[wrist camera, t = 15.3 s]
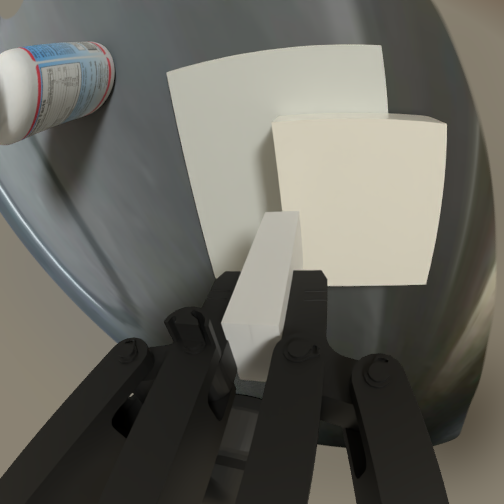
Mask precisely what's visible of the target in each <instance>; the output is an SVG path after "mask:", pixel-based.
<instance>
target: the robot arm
mask: <svg viewBox="0 0 504 504" xmlns="http://www.w3.org/2000/svg"><path fill="white" fill-rule="evenodd" d="M327 281H328V279H327V278H326V276H325V275H324V273H323V272H322V270H303V252H302V238H301V226H300V214H299V211H281V212H265V214H264V216H263V219H262V221H261V224H260V226H259V229H258V231H257V234H256V236H255V239H254V241H253V244H252V246H251V249H250V251H249V254H248V256H247V259H246V261H245V264H244V266H243V269H242V271H225V272H224V273H223V274H222V275H220V276H219V277H218V278H217V279H216V280H215V282H214V284H213V286H212V288H211V291H210V292H209V294H208V297H207V300H206V301H205V303H204V305H203V307H202V309H201V308H197V307H185V308H182V309H179V310H177V311H175V312H174V313H172V314H171V315H169V316H168V317H167V319H166V320H165V321H164V323H165V325H166V327H167V329H168V331H169V333H170V335H171V337H172V339H173V341H174V342H173V344H170V345H165V346H158V347H150V348H148V346H147V344H146V343H145V342H144V341H143V340H142V339H139V338H127V339H125V340H123V341H121V342H119V343H118V344H117V345H116V346H115V347H113V349H112V350H111V351H110V352H109V353H108V354H107V355H106V356H105V357H104V358H103V359H102V361H101V362H100V363H99V364H98V365H97V366H96V367H95V368H94V369H93V370H92V371H91V373H90V374H89V375H88V376H87V377H86V378H85V379H84V381H82V383H81V384H80V385H79V386H78V387H77V388H76V389H75V390H74V391H73V393H72V394H71V395H70V396H69V397H68V398H67V399H66V401H65V402H64V403H63V404H62V405H61V406H60V408H59V409H58V410H57V411H56V412H55V413H54V414H53V416H52V417H51V418H50V419H49V420H48V421H47V422H46V424H45V425H44V426H43V427H42V428H41V429H40V431H39V432H38V433H37V434H36V436H35V437H34V438H33V439H32V440H31V441H30V443H29V444H28V445H27V446H26V447H25V449H24V450H23V451H22V452H21V454H20V455H19V456H18V457H17V458H16V460H15V461H14V462H13V463H12V465H11V466H10V467H9V468H8V470H7V471H6V472H5V474H4V475H3V476H2V477H1V479H0V504H308V499H309V494H310V488H311V482H312V476H313V470H314V463H315V456H316V448H317V441H318V433H319V424H320V420H323V421H326V422H329V423H332V424H335V425H338V426H341V427H342V430H343V434H344V439H345V444H346V449H347V454H348V459H349V464H350V469H351V475H352V480H353V486H354V491H355V497H356V503H357V504H449V502H448V498H447V494H446V490H445V487H444V482H443V479H442V475H441V472H440V469H439V465H438V462H437V459H436V456H435V452H434V449H433V446H432V443H431V440H430V437H429V434H428V431H427V428H426V425H425V423H424V420H423V417H422V414H421V412H420V409H419V406H418V404H417V401H416V398H415V396H414V393H413V391H412V388H411V386H410V383H409V381H408V378H407V376H406V374H405V371H404V369H403V367H402V366H401V364H400V363H399V361H398V360H396V359H395V358H393V357H391V356H389V355H385V354H381V353H378V354H370V355H367V356H365V357H362V358H361V359H360V360H359V361H358V360H355V359H351V358H348V357H345V356H342V355H340V354H338V353H337V352H335V351H334V350H333V349H332V348H331V347H330V346H329V344H328V341H327V337H326V330H327ZM237 372H238V375H239V378H240V379H241V380H251V381H262V382H266V385H265V389H264V393H263V397H262V400H261V399H257V398H253V397H249V396H243V395H236V387H235V385H234V379H235V376H236V373H237ZM131 393H134V395H133V396H131V397H129V396H130V394H131Z"/></svg>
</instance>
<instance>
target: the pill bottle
mask: <svg viewBox="0 0 504 504" xmlns="http://www.w3.org/2000/svg"><path fill="white" fill-rule="evenodd" d="M114 77H115V68H114V62H113V59H112V56H111V54H110V53H109V51H108V50H107V49H106V48H105V47H104V46H103V45H101V44H99V43H96V42H66V43H53V44H42V45H34V46H26V47H20V48H14V49H10V50H7V51H5V52H3V53H1V54H0V145H10V144H13V143H16V142H18V141H20V140H23V139H25V138H27V137H30V136H32V135H34V134H36V133H39V132H41V131H44V130H46V129H49V128H52V127H54V126H57V125H59V124H62V123H65V122H68V121H71V120H74V119H77V118H80V117H83V116H86V115H89V114H91V113H93V112H94V111H96V110H97V109H98V108H99V107H100V106H101V105H102V104H103V103H104V102H105V100H106V99H107V97H108V96H109V94H110V92H111V89H112V87H113V83H114Z"/></svg>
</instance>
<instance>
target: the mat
mask: <svg viewBox="0 0 504 504" xmlns="http://www.w3.org/2000/svg"><path fill="white" fill-rule="evenodd" d="M167 78H168V83H169V88H170V93H171V98H172V103H173V108H174V112H175V117H176V122H177V126H178V131H179V136H180V140H181V144H182V149H183V153H184V158H185V162H186V166H187V171H188V175H189V179H190V183H191V187H192V191H193V195H194V199H195V203H196V207H197V211H198V215H199V219H200V223H201V227H202V231H203V235H204V238H205V242H206V246H207V250H208V253H209V257H210V261H211V264H212V268H213V272H214V275H215V278H218V277H219V276H220V275H222V274H223V273H224V272H225V271H242V269H243V266H244V264H245V261H246V259H247V256H248V254H249V251H250V249H251V246H252V244H253V241H254V239H255V236H256V234H257V231H258V229H259V226H260V224H261V221H262V219H263V216H264V214H265V212H281V211H282V205H281V196H280V187H279V179H278V170H277V162H276V154H275V147H274V139H273V132H272V124H271V122H272V121H273V120H275V119H276V118H277V117H278V116H283V115H296V114H314V113H388V105H387V92H386V81H385V72H384V63H383V56H382V49H381V45H316V46H301V47H290V48H280V49H272V50H265V51H258V52H252V53H246V54H240V55H235V56H229V57H225V58H220V59H215V60H211V61H207V62H202V63H198V64H195V65H191V66H187V67H183V68H180V69H176V70H173V71H170V72H167Z"/></svg>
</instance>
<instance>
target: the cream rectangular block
mask: <svg viewBox="0 0 504 504" xmlns="http://www.w3.org/2000/svg"><path fill="white" fill-rule="evenodd" d="M271 124H272V132H273V139H274V147H275V154H276V162H277V170H278V179H279V187H280V196H281V205H282V211H299V214H300V226H301V238H302V252H303V270H322V272H323V273H324V275H325V276H326V278H327V279H328V281H327V286H380V285H421V284H426V281H427V277H428V273H429V269H430V265H431V260H432V255H433V251H434V246H435V240H436V235H437V229H438V223H439V217H440V210H441V203H442V195H443V186H444V175H445V162H446V142H447V124H446V123H443V122H441V121H438V120H436V119H433V118H431V117H428V116H421V115H408V114H391V113H314V114H296V115H283V116H278V117H277V118H276V119H275V120H273V121H272V122H271Z"/></svg>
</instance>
